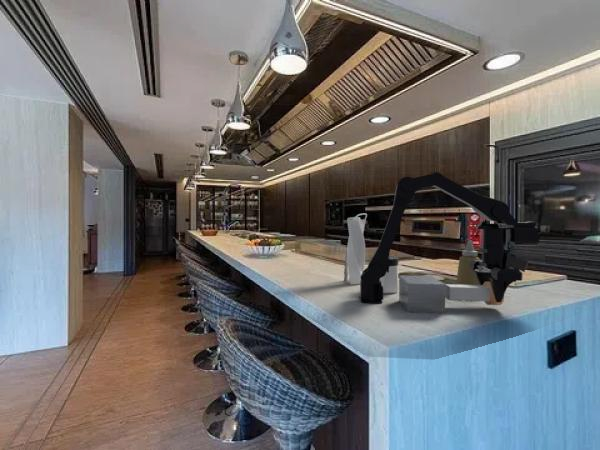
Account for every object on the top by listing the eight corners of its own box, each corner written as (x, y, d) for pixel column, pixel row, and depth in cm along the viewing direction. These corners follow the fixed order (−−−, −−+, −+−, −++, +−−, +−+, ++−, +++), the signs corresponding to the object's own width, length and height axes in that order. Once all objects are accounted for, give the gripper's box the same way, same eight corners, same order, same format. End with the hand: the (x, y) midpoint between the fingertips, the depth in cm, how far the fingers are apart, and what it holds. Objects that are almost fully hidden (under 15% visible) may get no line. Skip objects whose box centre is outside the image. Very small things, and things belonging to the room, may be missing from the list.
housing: (407, 312, 89) (407, 283, 89) (399, 300, 101) (399, 275, 101) (444, 313, 88) (445, 284, 88) (431, 301, 100) (432, 276, 100)
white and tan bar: (451, 306, 91) (451, 283, 90) (443, 300, 97) (443, 278, 97) (503, 308, 89) (504, 284, 89) (492, 301, 96) (492, 279, 95)
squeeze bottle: (468, 295, 108) (469, 241, 108) (451, 289, 116) (452, 240, 115) (487, 293, 110) (488, 241, 110) (469, 288, 118) (470, 239, 118)
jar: (403, 291, 114) (404, 257, 113) (390, 294, 108) (390, 259, 108) (382, 286, 120) (383, 255, 120) (368, 290, 115) (369, 256, 115)
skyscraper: (363, 281, 132) (364, 213, 131) (368, 285, 124) (369, 213, 123) (343, 281, 131) (343, 213, 130) (347, 285, 123) (347, 213, 122)
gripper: (545, 249, 82) (543, 309, 82) (506, 242, 100) (505, 291, 101) (498, 248, 83) (497, 308, 84) (469, 242, 102) (468, 290, 102)
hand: (492, 298), depth 92 cm, fingers closed on white and tan bar, 7 cm apart
